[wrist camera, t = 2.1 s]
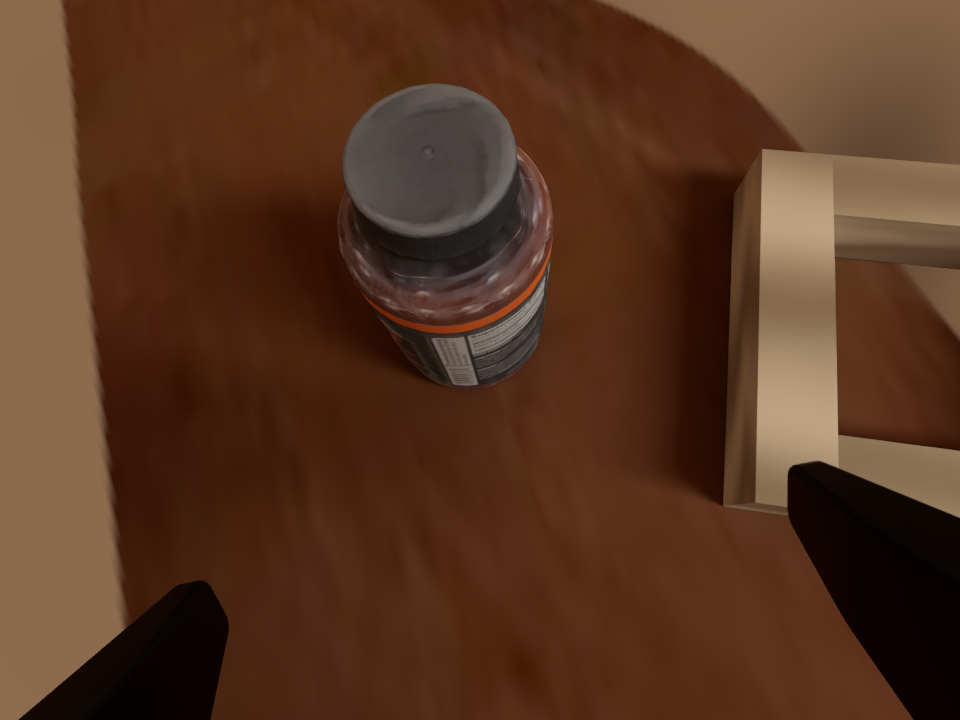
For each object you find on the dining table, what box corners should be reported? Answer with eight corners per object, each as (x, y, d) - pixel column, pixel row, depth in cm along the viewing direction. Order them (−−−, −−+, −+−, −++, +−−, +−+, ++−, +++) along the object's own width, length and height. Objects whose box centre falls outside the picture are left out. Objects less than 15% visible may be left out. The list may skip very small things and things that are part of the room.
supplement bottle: (376, 295, 24) (258, 105, 13) (503, 236, 25) (487, 4, 14) (434, 420, 22) (353, 319, 12) (569, 354, 23) (612, 197, 12)
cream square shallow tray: (1119, 564, 19) (1223, 570, 16) (723, 506, 21) (755, 502, 18) (1070, 224, 23) (1148, 180, 20) (733, 194, 24) (762, 149, 21)
